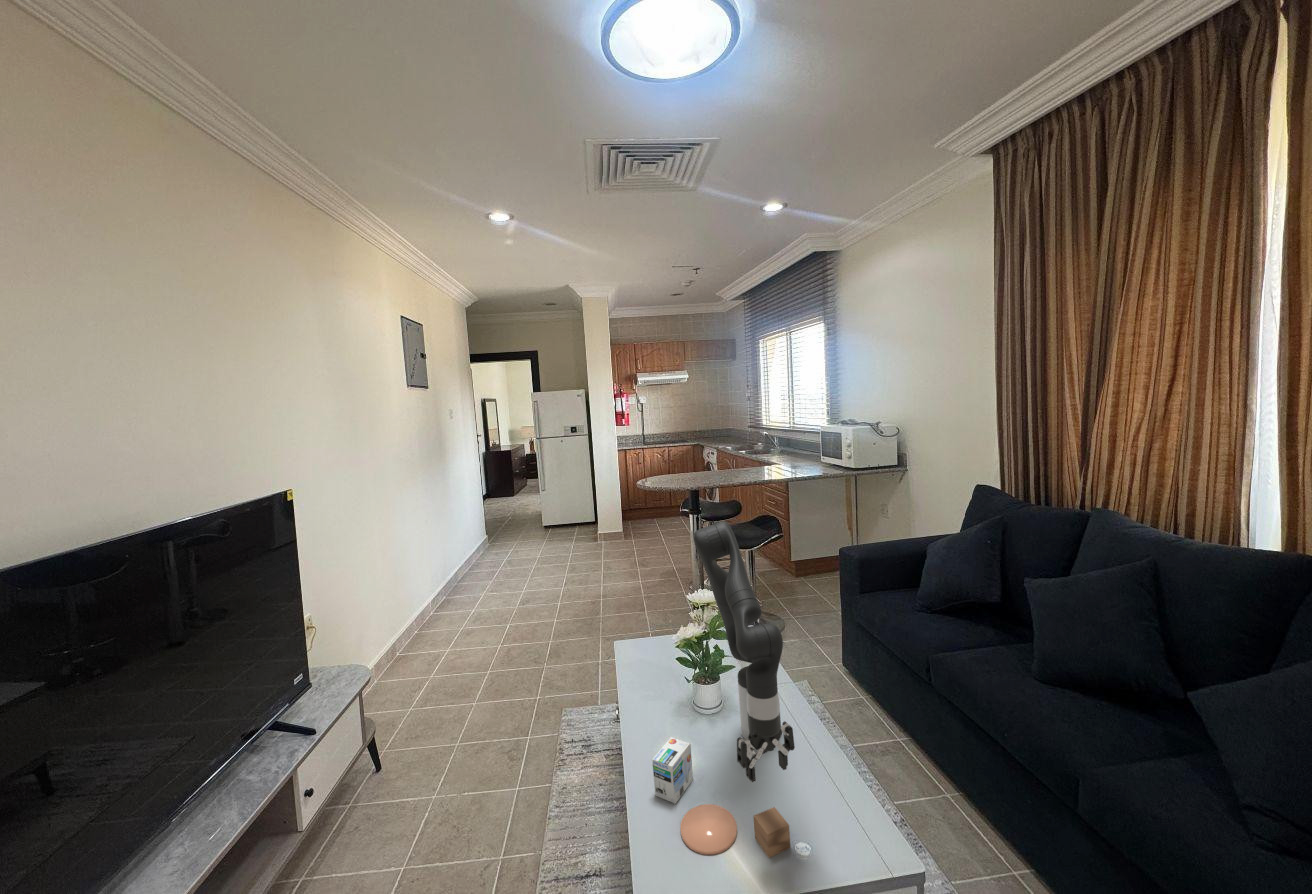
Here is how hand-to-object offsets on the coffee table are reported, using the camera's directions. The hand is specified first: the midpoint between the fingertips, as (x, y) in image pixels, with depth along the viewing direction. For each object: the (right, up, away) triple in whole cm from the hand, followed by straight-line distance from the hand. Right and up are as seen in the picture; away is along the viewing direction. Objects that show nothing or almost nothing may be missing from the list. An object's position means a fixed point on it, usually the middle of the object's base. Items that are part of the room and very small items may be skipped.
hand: (767, 773), depth 122 cm
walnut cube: (+2, -18, +2) cm, 18 cm away
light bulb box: (-21, -18, +22) cm, 35 cm away
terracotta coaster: (-13, -18, +7) cm, 24 cm away
